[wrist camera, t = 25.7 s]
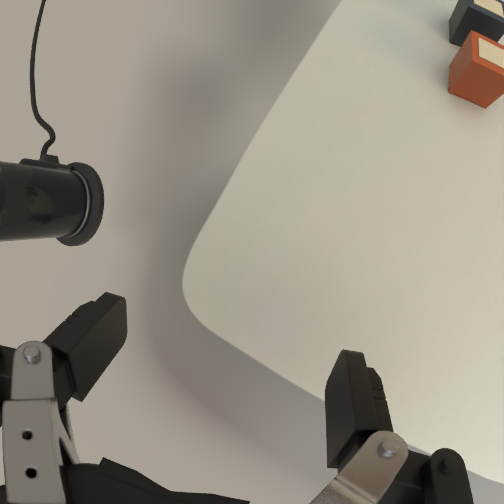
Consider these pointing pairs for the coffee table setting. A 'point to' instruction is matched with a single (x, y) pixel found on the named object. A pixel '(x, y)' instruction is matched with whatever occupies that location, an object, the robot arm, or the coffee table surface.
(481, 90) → the orange box with label
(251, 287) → the coffee table surface
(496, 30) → the navy labelled block
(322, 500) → the robot arm
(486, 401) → the coffee table surface
